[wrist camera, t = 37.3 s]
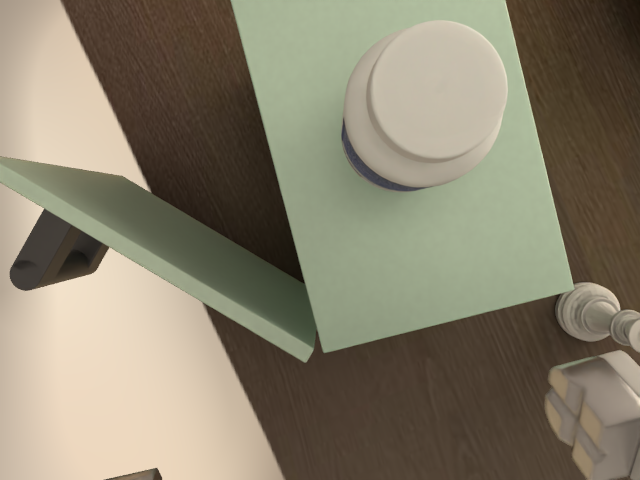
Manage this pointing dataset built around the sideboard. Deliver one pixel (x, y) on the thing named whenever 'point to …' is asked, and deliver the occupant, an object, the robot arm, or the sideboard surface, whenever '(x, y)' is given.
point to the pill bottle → (423, 106)
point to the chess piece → (597, 316)
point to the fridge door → (151, 249)
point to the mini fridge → (397, 207)
